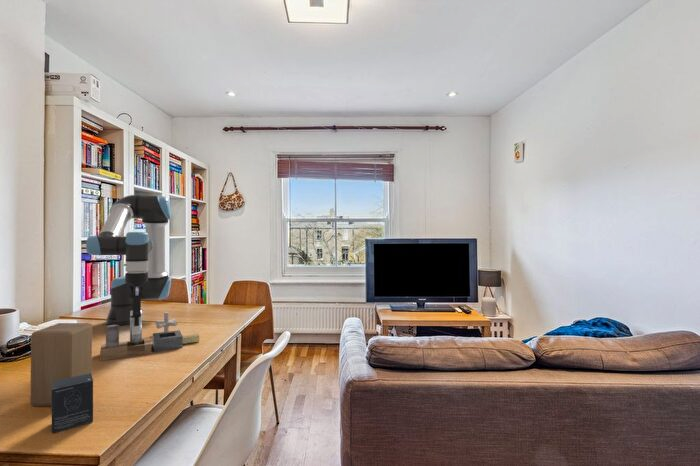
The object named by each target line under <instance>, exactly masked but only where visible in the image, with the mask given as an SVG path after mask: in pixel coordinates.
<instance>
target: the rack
mask: <svg viewBox="0 0 700 466" xmlns="http://www.w3.org/2000/svg"><path fill="white" fill-rule="evenodd" d="M147 354H152V340H151V338H142V344H141V345H134V346H130V340H128V341H120V325H107V326H105V344H101V346H100V350H99V361H100V362H102V361H108V360H115V359H120V358H126V357H127V358H128V357H136V356H142V355H147Z"/></svg>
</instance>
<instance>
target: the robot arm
mask: <svg viewBox="0 0 700 466" xmlns="http://www.w3.org/2000/svg"><path fill="white" fill-rule="evenodd" d="M108 213H109V215H108V217H107V218H106V220H105V223H104V224H103V226H102V228H101V230H100V231H99V234H98V235H93V236H92V235H90V236H89V237H87V239H86V242H85V251H86V253H87V254H88V255H90V256H125V263H123V266H124V267H125V272H126V273H125V274H124V275H123V276H118V277H115V278H113V279H112V280H111V284H110V309H109V312H108V314H107V316H106V320H105V321H106V323H105V324H106V325H107V326H110V325H119V326H126V325H130V318H132V335H135V334H140V333H141V310H142V311H143V309H141V307H142V305H141V304H142V302H141V301H155V300H158V301H159V300H166V299H168V297H169V295H170V291H171V285H172V276H170V275H169V272H167V271H166V225H167V224H168V223H169V221H170V220H171V219H172V209H171V201H170V200H169V198H168V197H167V196H161V195H147V194H146V195H144V194H143V195H141V194H130V195H126V196H124V197H122V198H119V199H118V200H116V201H115V202H113V203H112V205H111V206H110V208H109V212H108ZM132 219H138V220H139V219H140V220H141V223H142V224H143V225H144V226H145V232H143V231H128V232H126V234H125V236H123V233H124V231H125V228H126V226H127V224H128V222H129V221H131V220H132ZM132 310H133V315H132V316H130V311H132Z"/></svg>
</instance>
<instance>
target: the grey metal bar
mask: <svg viewBox="0 0 700 466" xmlns="http://www.w3.org/2000/svg"><path fill="white" fill-rule="evenodd" d="M132 315H133V310H132V311H130V316H132ZM142 339H143V309H142V310H141V333H140V334H135V335H132V318H130V324H129V341H130V346H134V345H141V344H142Z"/></svg>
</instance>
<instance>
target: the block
mask: <svg viewBox="0 0 700 466" xmlns="http://www.w3.org/2000/svg"><path fill="white" fill-rule="evenodd" d="M92 362H93V325H92V323H91V322H67V323H65V322H62V323H61V322H59V323H56V324H53V325H49V326H47V327H45V328H41V329H39V330H36V331H34V332H32V333H31V335H30V405H31V406H32V407H43V406H44V407H46V406H48V407H50V406H51V407H52V383H53V381H56V380H61V379H66V378H71V377H75V376H80V375H85V374H90V373H93V372H92V371H93V370H92V369H93V368H92V366H93V365H92V364H93V363H92Z"/></svg>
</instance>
